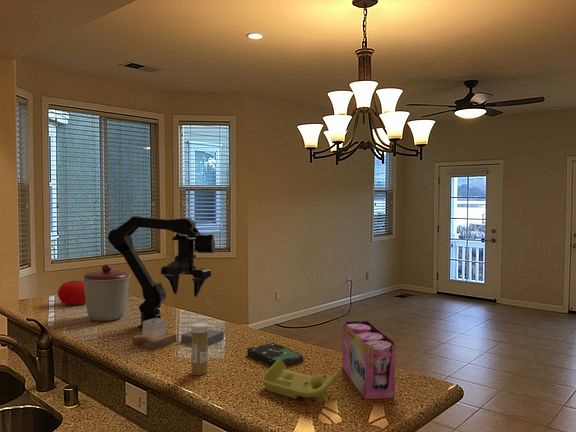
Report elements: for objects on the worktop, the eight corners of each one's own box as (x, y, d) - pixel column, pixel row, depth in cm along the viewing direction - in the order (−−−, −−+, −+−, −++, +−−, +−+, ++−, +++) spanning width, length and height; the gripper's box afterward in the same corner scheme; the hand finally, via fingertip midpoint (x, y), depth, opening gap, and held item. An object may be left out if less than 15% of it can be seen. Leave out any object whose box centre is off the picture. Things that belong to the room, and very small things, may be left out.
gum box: (397, 401, 121) (399, 345, 120) (366, 402, 120) (367, 346, 119) (367, 366, 144) (368, 320, 144) (341, 367, 143) (342, 321, 143)
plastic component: (257, 380, 126) (282, 355, 133) (268, 402, 129) (291, 377, 135) (317, 397, 113) (341, 368, 119) (327, 422, 115) (350, 392, 122)
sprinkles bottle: (208, 375, 136) (208, 326, 135) (191, 376, 135) (191, 326, 134) (207, 369, 140) (207, 321, 139) (190, 370, 139) (190, 322, 138)
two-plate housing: (155, 332, 167) (155, 316, 167) (165, 334, 165) (165, 318, 165) (142, 336, 162) (142, 320, 161) (153, 338, 160) (153, 322, 159)
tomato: (86, 299, 227) (86, 276, 227) (97, 304, 218) (97, 280, 217) (53, 303, 218) (53, 280, 217) (63, 309, 208) (63, 284, 208)
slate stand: (181, 342, 165) (181, 334, 165) (199, 334, 174) (199, 327, 174) (206, 346, 160) (206, 339, 160) (223, 338, 169) (223, 331, 169)
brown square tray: (131, 344, 161) (131, 337, 161) (153, 337, 170) (153, 329, 170) (155, 349, 157) (156, 341, 157) (176, 341, 166) (176, 333, 166)
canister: (116, 325, 184) (116, 268, 183) (71, 322, 187) (71, 266, 186) (138, 314, 202) (139, 262, 201) (97, 311, 205) (97, 260, 204)
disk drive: (246, 357, 153) (277, 370, 141) (246, 348, 153) (277, 360, 141) (272, 350, 159) (304, 362, 148) (273, 342, 159) (304, 353, 148)
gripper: (150, 253, 178) (150, 296, 179) (193, 256, 170) (192, 302, 171) (170, 250, 188) (170, 291, 189) (211, 253, 180) (211, 296, 181)
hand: (185, 295), depth 182 cm, fingers open, 9 cm apart
